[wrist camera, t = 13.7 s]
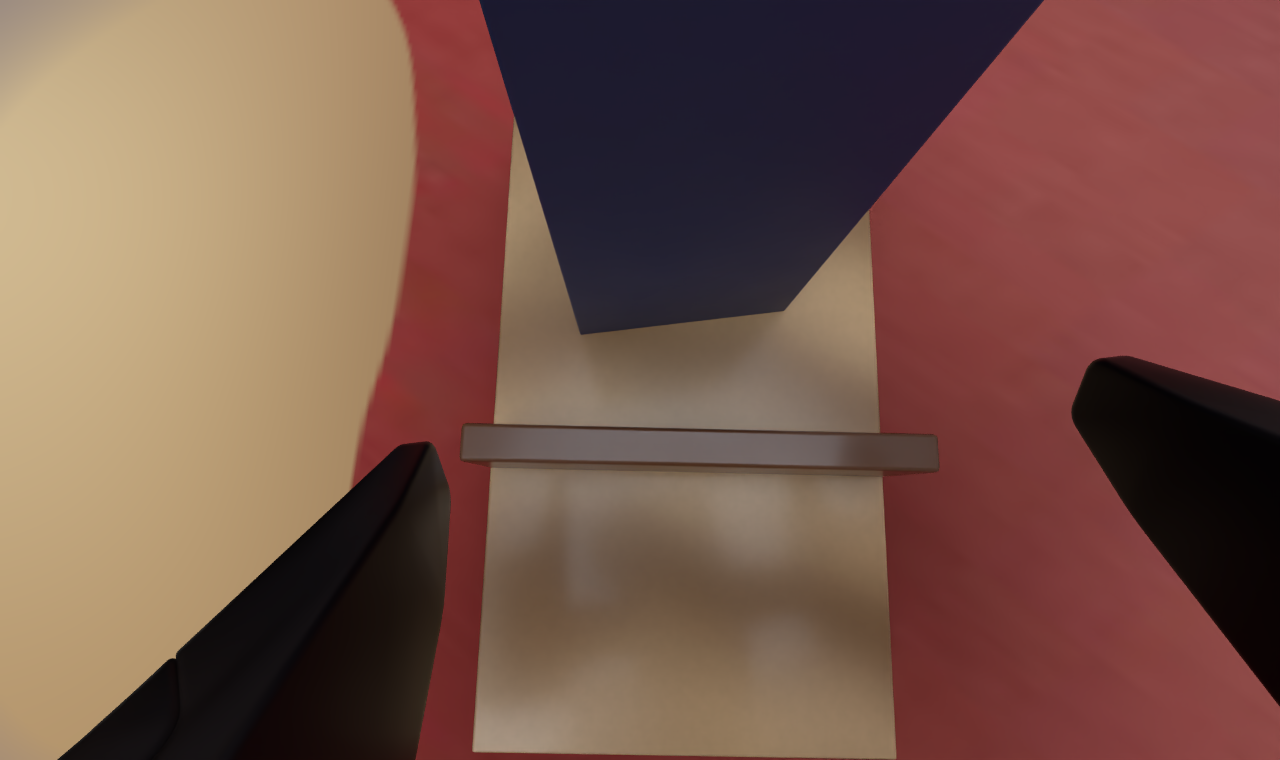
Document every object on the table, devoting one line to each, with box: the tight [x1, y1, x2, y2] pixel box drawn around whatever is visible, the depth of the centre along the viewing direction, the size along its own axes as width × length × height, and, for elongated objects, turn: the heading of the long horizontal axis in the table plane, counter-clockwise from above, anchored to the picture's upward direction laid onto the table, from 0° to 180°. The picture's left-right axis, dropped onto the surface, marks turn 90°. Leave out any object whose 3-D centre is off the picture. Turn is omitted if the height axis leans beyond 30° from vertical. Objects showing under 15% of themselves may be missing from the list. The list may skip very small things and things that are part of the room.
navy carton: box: [479, 0, 1044, 335], centre depth 11 cm, size 5×6×12 cm
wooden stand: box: [460, 117, 939, 759], centre depth 17 cm, size 18×10×8 cm, turn 179°
